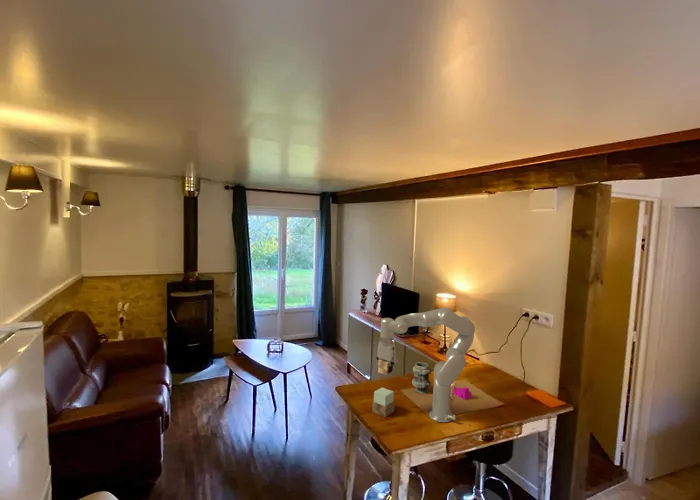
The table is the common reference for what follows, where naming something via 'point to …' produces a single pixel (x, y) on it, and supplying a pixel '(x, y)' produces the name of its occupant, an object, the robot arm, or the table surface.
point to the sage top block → (383, 396)
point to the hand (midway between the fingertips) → (385, 370)
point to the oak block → (383, 367)
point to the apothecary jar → (421, 377)
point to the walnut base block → (383, 409)
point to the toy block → (462, 392)
